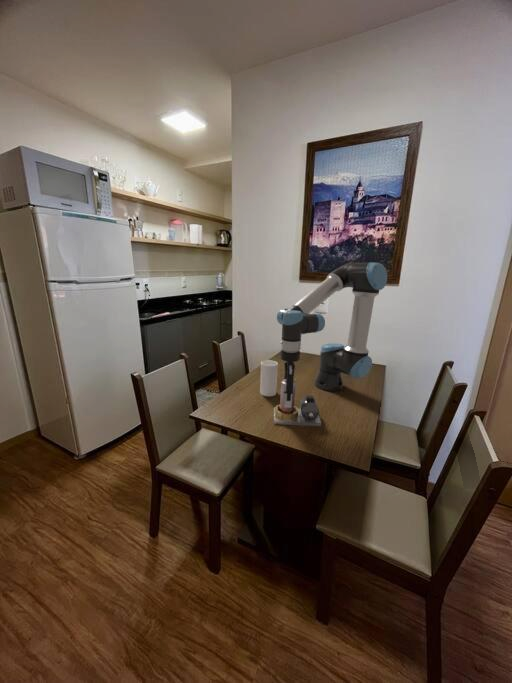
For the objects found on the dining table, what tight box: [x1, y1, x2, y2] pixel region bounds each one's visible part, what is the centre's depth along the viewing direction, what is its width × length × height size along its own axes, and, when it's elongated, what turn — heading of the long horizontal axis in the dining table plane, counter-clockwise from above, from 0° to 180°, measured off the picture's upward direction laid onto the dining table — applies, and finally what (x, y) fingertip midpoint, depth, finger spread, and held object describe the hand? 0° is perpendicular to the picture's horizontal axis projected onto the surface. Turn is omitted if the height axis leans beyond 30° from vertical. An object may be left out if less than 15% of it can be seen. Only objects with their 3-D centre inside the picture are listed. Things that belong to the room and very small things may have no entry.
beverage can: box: [279, 378, 297, 414], centre depth 115 cm, size 6×6×15 cm
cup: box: [259, 359, 279, 397], centre depth 138 cm, size 8×8×16 cm
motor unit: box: [273, 395, 322, 427], centre depth 115 cm, size 19×12×10 cm, turn 87°
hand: (287, 401), depth 115 cm, fingers open, 8 cm apart
